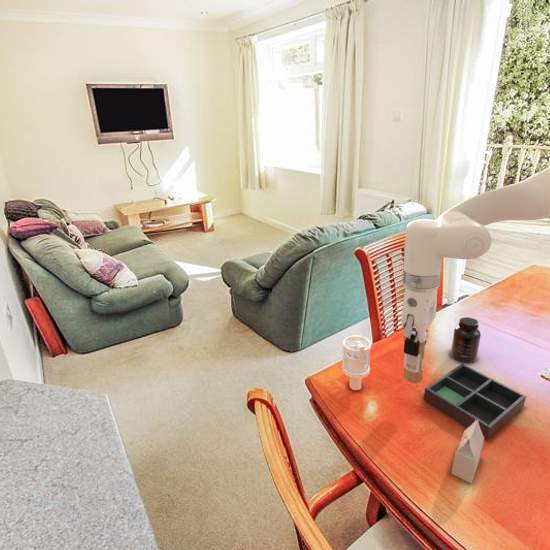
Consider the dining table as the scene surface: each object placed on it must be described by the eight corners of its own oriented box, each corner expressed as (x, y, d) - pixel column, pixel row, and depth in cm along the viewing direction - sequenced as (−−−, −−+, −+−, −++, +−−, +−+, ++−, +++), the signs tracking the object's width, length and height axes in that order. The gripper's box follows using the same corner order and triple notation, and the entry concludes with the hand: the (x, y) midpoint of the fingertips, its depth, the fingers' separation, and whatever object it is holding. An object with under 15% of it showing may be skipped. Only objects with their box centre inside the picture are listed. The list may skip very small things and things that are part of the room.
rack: (523, 407, 90) (526, 396, 89) (487, 439, 82) (490, 427, 81) (460, 373, 102) (462, 363, 101) (423, 399, 94) (425, 388, 93)
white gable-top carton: (479, 459, 78) (487, 423, 74) (471, 483, 73) (479, 445, 69) (460, 451, 80) (467, 415, 76) (451, 473, 75) (458, 436, 71)
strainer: (347, 397, 97) (348, 348, 91) (338, 379, 103) (339, 333, 97) (373, 393, 97) (375, 344, 91) (363, 376, 104) (365, 329, 98)
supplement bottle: (451, 347, 114) (456, 313, 109) (476, 352, 111) (483, 317, 106) (449, 360, 108) (455, 324, 103) (476, 365, 105) (483, 329, 100)
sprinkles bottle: (426, 378, 90) (431, 331, 85) (414, 386, 88) (418, 338, 83) (410, 369, 94) (414, 323, 89) (398, 377, 92) (401, 330, 86)
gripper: (426, 297, 72) (419, 373, 79) (450, 267, 84) (442, 336, 91) (388, 289, 77) (385, 362, 84) (416, 261, 89) (411, 327, 96)
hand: (415, 347), depth 88 cm, fingers closed on sprinkles bottle, 4 cm apart
